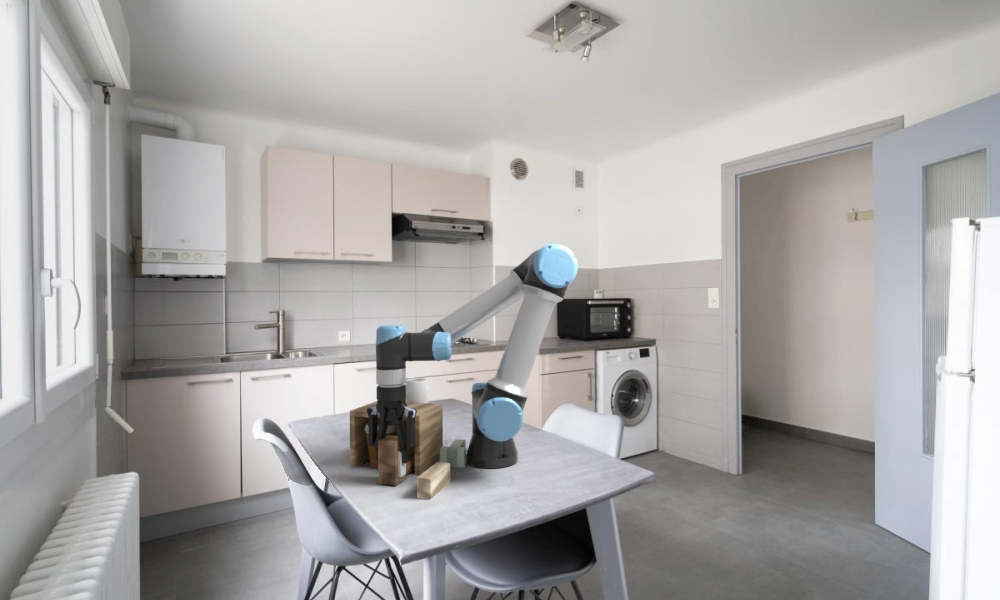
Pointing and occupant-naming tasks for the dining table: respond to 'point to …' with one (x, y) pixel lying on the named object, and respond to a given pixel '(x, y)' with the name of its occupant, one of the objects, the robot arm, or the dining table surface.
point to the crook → (392, 461)
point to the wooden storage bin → (425, 434)
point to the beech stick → (433, 480)
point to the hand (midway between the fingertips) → (392, 474)
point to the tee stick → (454, 453)
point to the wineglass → (416, 390)
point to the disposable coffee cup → (372, 451)
